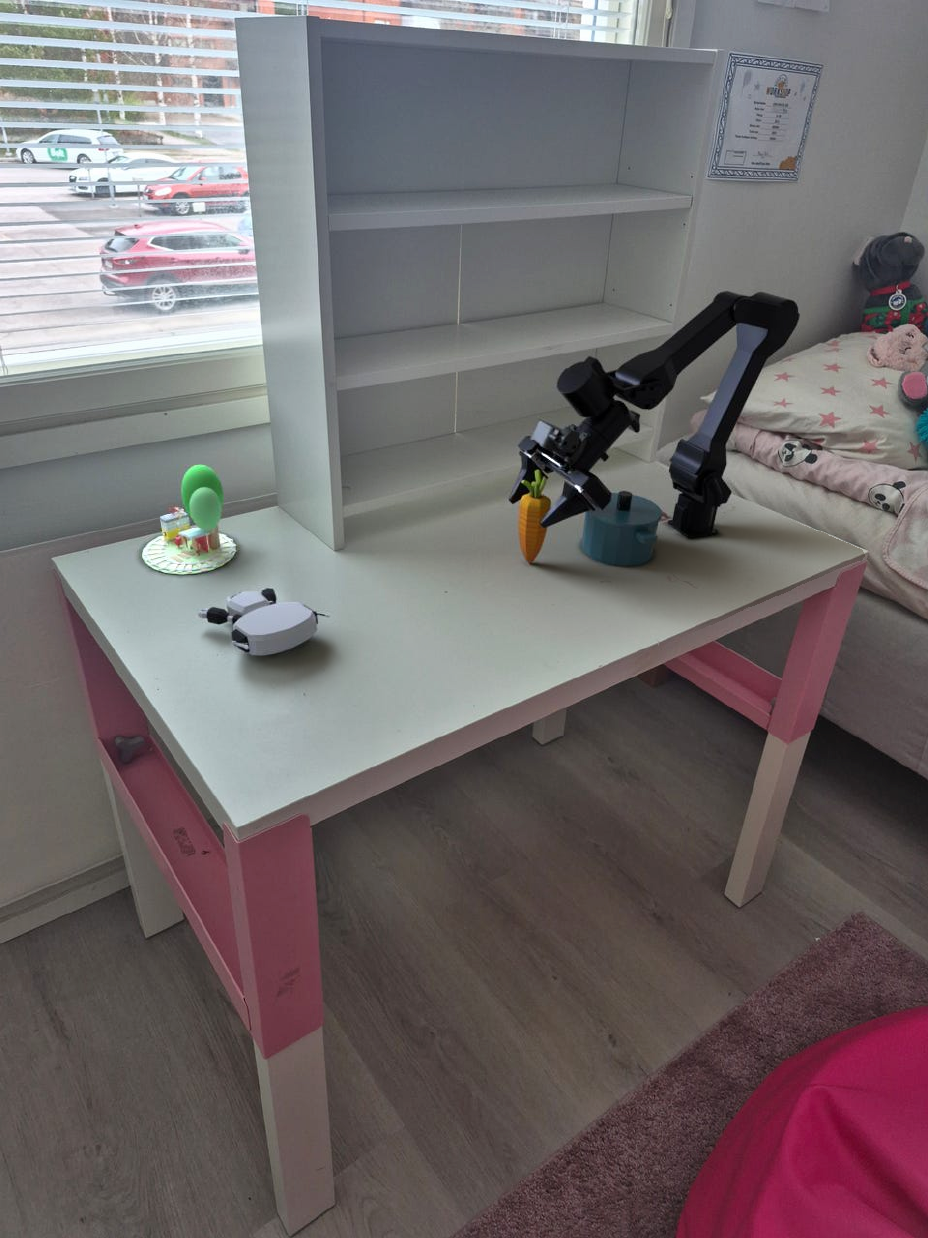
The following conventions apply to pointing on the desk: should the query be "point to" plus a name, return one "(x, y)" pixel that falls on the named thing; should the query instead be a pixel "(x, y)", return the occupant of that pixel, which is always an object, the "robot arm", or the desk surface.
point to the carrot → (533, 518)
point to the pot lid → (628, 511)
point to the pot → (618, 542)
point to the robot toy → (265, 622)
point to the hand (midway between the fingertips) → (525, 513)
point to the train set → (197, 545)
